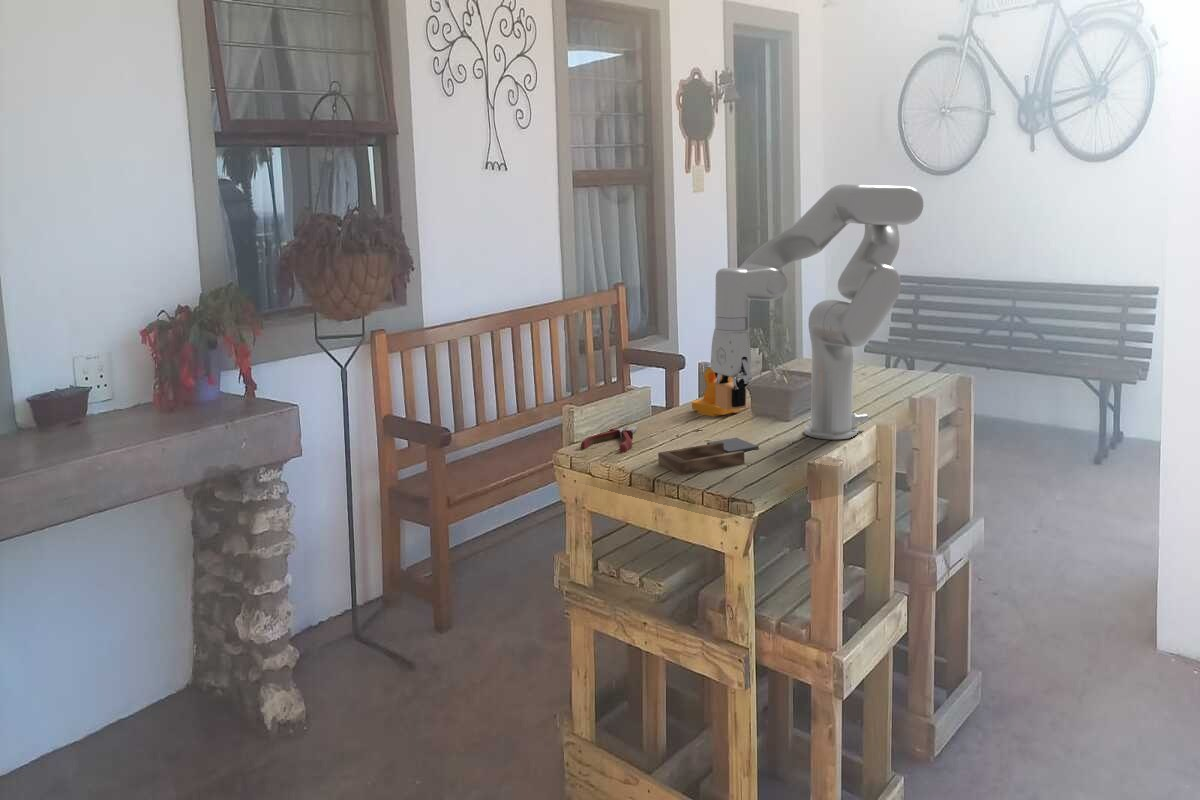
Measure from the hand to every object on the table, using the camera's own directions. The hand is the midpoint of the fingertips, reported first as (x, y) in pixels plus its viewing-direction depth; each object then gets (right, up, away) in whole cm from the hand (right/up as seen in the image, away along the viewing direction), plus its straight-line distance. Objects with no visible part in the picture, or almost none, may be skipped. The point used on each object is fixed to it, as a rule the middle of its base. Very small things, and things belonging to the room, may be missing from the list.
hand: (731, 402), depth 235 cm
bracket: (0, -3, +35) cm, 35 cm away
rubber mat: (+1, -10, +2) cm, 10 cm away
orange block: (0, -1, 0) cm, 1 cm away
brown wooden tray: (-8, -13, -10) cm, 18 cm away
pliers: (-25, -10, +10) cm, 28 cm away
